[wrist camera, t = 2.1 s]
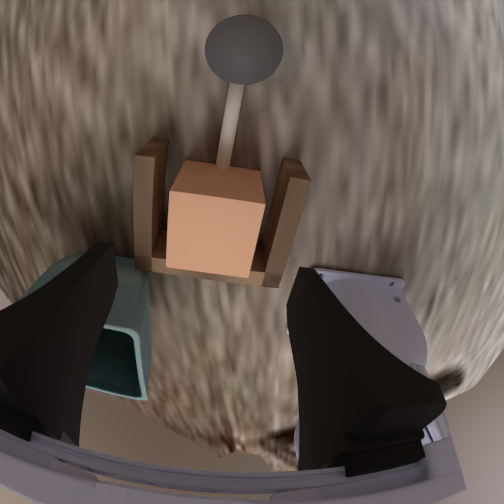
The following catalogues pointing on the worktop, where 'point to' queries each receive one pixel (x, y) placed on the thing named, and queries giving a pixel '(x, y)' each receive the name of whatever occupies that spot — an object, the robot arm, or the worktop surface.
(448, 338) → the worktop surface
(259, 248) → the lane
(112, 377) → the flower pot
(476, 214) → the worktop surface
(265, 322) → the worktop surface
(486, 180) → the worktop surface
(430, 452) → the robot arm
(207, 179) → the tethered block
